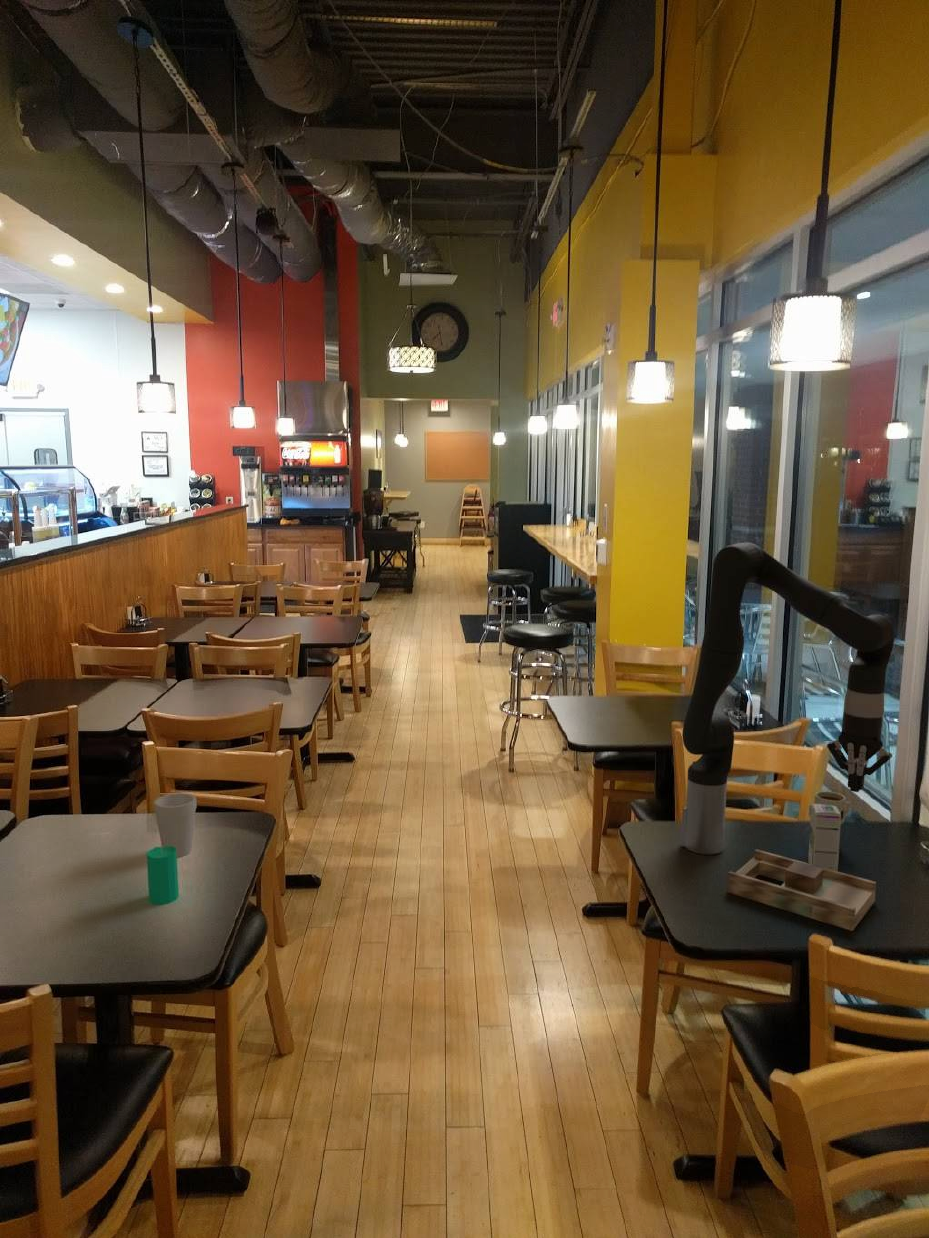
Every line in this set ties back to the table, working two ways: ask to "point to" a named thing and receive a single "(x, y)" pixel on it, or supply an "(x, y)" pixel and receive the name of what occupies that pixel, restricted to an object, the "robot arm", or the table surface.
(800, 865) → the walnut block
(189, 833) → the foam cup
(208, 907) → the table surface
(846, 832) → the table surface
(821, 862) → the syrup box
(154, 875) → the candle
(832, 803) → the character mug
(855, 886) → the tray
